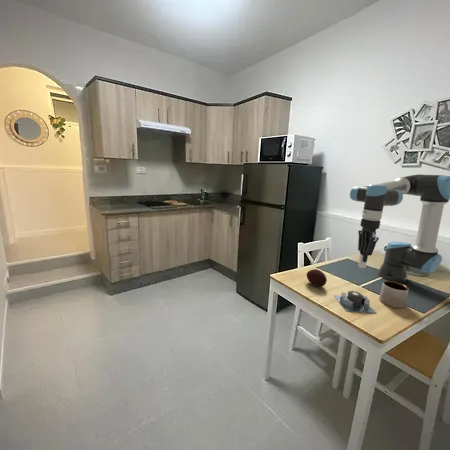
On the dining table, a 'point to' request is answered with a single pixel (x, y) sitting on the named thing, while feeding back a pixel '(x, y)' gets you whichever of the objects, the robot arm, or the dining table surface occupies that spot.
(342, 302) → the blue square tray
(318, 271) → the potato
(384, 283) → the planter
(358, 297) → the cap
